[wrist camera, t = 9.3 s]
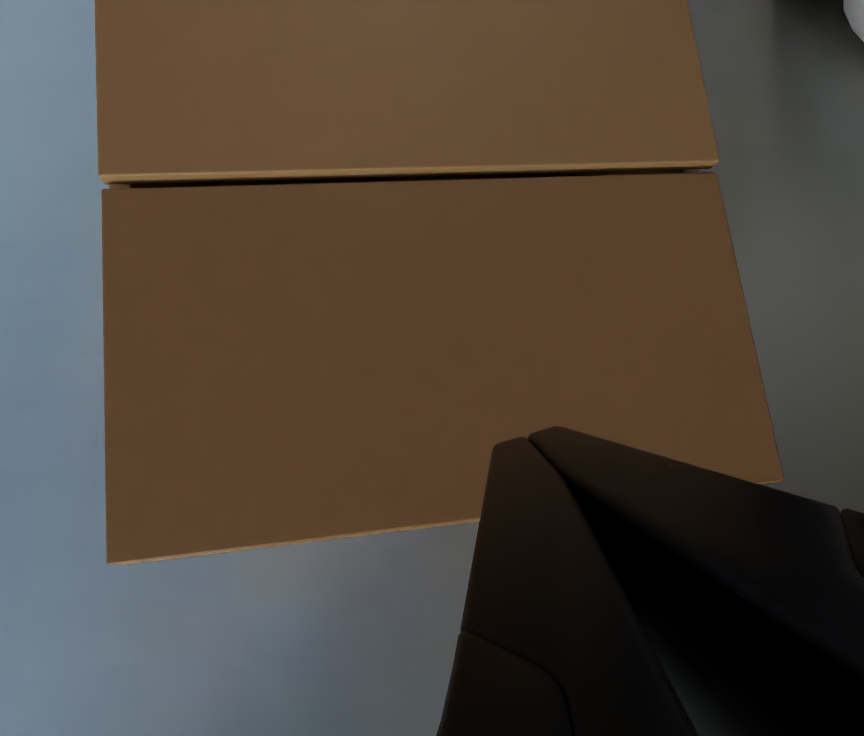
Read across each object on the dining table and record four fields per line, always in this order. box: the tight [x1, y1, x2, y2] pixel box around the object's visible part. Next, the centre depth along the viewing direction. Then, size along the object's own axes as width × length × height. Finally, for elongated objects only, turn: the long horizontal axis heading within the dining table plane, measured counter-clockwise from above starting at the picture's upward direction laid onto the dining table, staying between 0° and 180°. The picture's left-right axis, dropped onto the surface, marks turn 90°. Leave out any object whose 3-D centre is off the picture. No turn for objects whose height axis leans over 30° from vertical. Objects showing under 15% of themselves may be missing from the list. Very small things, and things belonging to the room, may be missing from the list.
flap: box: [102, 172, 784, 565], centre depth 12 cm, size 6×12×1 cm, turn 96°
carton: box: [95, 0, 719, 565], centre depth 16 cm, size 13×12×9 cm
